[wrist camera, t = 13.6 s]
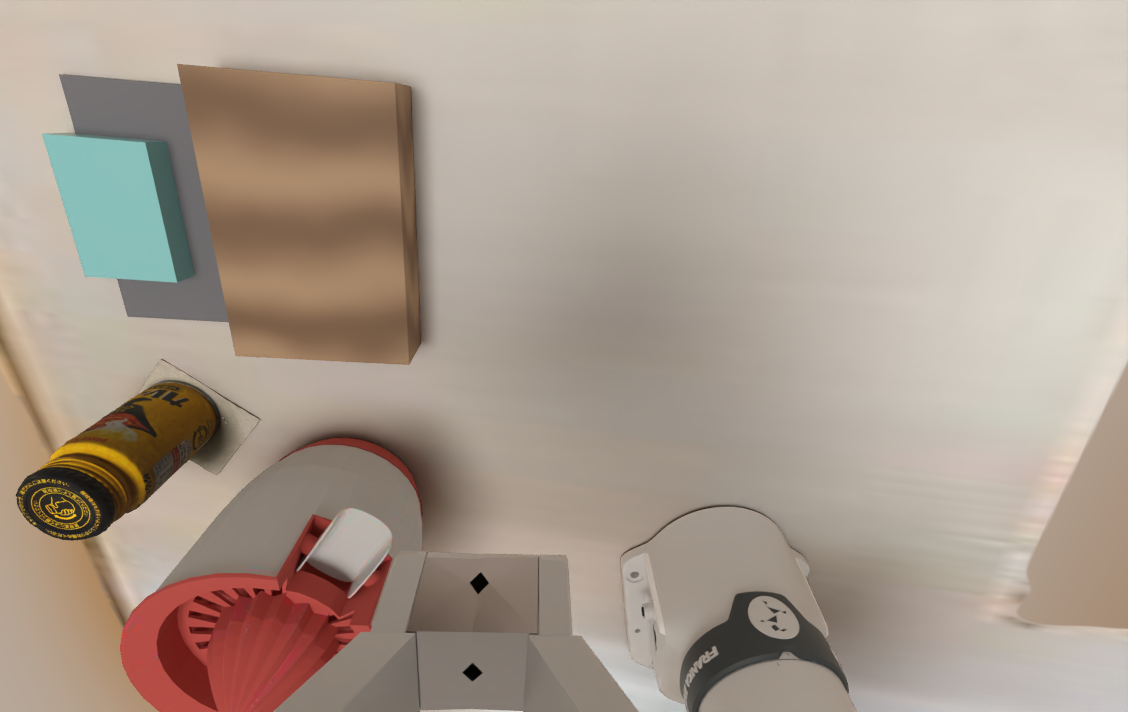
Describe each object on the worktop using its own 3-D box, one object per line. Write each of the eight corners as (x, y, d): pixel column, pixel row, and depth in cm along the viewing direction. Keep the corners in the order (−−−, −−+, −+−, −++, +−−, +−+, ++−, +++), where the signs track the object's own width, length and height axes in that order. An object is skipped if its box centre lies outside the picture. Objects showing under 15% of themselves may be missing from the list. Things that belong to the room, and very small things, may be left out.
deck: (420, 343, 41) (409, 364, 37) (263, 334, 40) (235, 355, 36) (410, 87, 34) (394, 82, 30) (217, 70, 33) (177, 63, 29)
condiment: (162, 358, 41) (22, 445, 30) (261, 418, 43) (166, 519, 32) (122, 418, 43) (-23, 521, 32) (219, 473, 45) (116, 585, 34)
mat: (254, 321, 40) (252, 323, 39) (130, 315, 39) (127, 316, 39) (212, 87, 33) (209, 87, 33) (62, 74, 33) (58, 74, 32)
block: (85, 276, 35) (107, 268, 37) (177, 282, 36) (194, 274, 38) (42, 133, 32) (69, 133, 34) (145, 142, 32) (166, 141, 34)
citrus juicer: (488, 467, 46) (453, 694, 28) (379, 579, 51) (289, 833, 33) (332, 365, 41) (169, 556, 23) (229, 499, 46) (28, 743, 28)
